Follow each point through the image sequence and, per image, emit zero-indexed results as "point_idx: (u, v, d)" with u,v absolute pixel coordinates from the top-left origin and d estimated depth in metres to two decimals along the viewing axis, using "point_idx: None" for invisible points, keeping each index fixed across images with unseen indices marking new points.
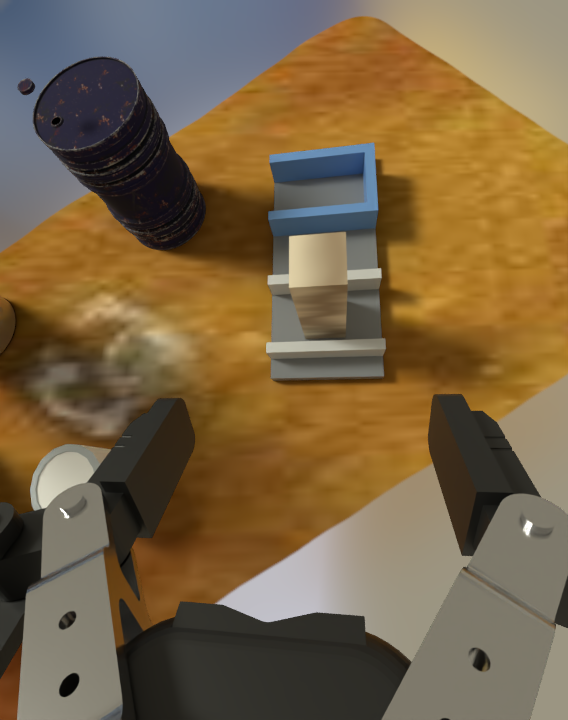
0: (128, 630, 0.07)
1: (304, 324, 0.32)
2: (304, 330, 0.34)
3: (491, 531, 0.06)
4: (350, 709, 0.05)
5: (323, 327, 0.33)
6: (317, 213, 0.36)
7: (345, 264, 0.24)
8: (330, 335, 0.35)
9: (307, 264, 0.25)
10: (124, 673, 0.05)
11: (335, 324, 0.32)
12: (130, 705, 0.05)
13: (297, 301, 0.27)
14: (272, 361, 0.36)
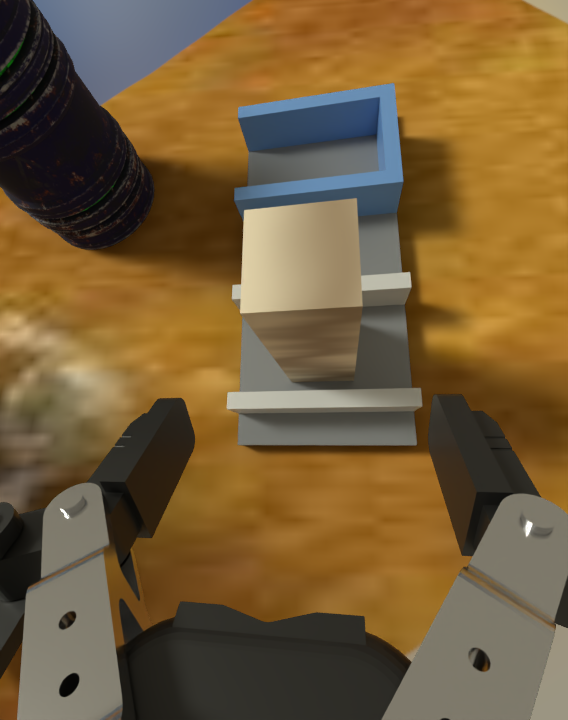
0: (128, 630, 0.07)
1: (285, 366, 0.19)
2: (287, 373, 0.21)
3: (491, 531, 0.06)
4: (350, 709, 0.05)
5: (318, 370, 0.20)
6: (307, 189, 0.23)
7: (357, 264, 0.12)
8: (330, 379, 0.22)
9: (278, 265, 0.12)
10: (124, 673, 0.05)
11: (338, 366, 0.19)
12: (130, 705, 0.05)
13: (265, 336, 0.14)
14: (240, 417, 0.23)
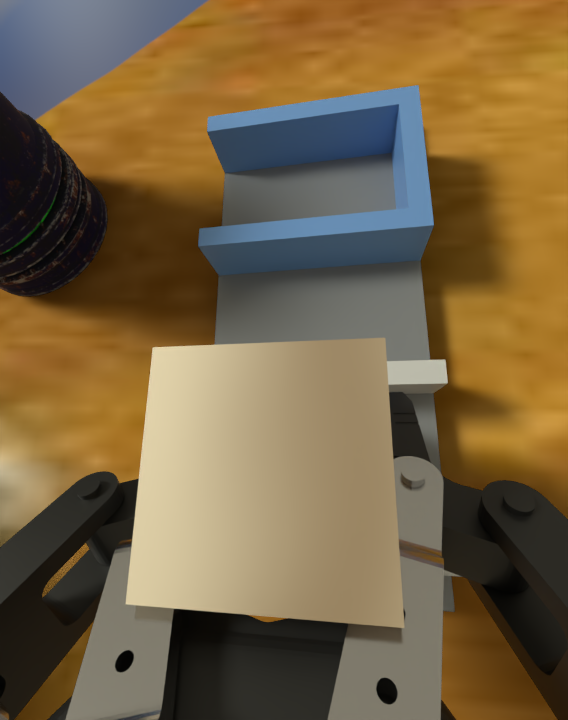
0: None
1: None
2: None
3: None
4: None
5: None
6: (299, 233, 0.17)
7: (389, 507, 0.05)
8: None
9: (215, 488, 0.06)
10: (171, 672, 0.05)
11: None
12: (169, 710, 0.05)
13: None
14: None
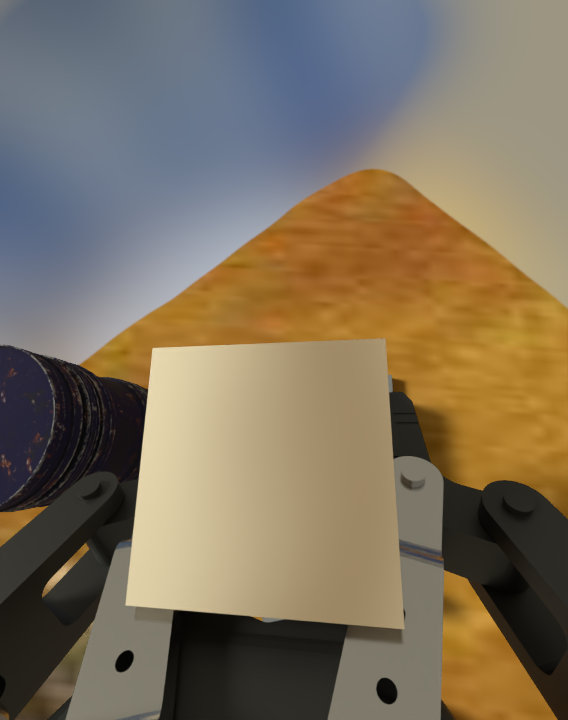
0: None
1: None
2: None
3: None
4: None
5: None
6: None
7: (389, 508, 0.05)
8: None
9: (214, 489, 0.06)
10: (171, 672, 0.05)
11: None
12: (169, 710, 0.05)
13: None
14: None
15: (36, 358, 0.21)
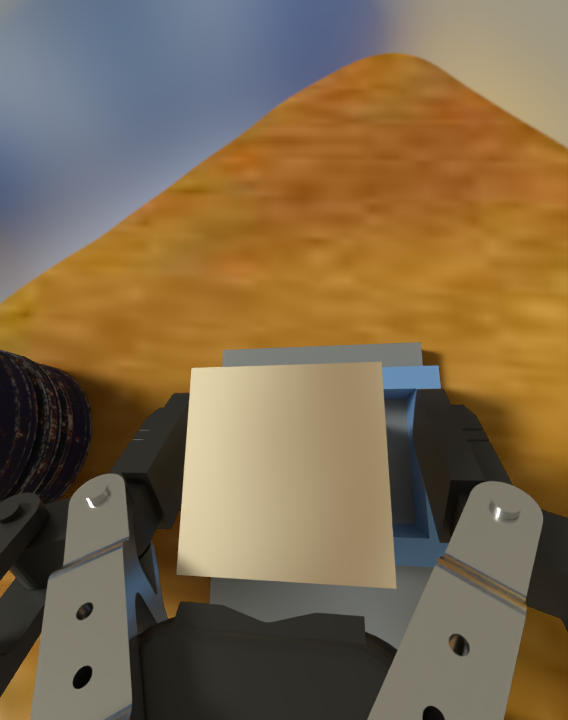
0: (143, 623, 0.07)
1: None
2: None
3: (461, 516, 0.07)
4: (350, 709, 0.05)
5: None
6: None
7: (384, 497, 0.06)
8: None
9: (246, 482, 0.07)
10: (134, 671, 0.05)
11: None
12: (139, 704, 0.05)
13: None
14: None
15: None
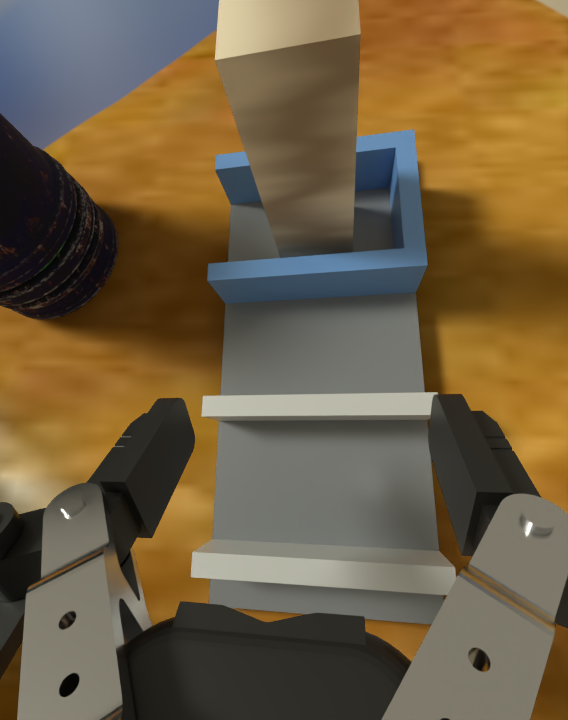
0: (128, 630, 0.07)
1: (275, 224, 0.17)
2: (279, 245, 0.19)
3: (491, 531, 0.06)
4: (350, 709, 0.05)
5: (312, 235, 0.18)
6: (302, 270, 0.18)
7: None
8: None
9: (261, 8, 0.10)
10: (123, 674, 0.05)
11: (334, 225, 0.17)
12: (130, 705, 0.05)
13: (248, 134, 0.12)
14: None
15: None
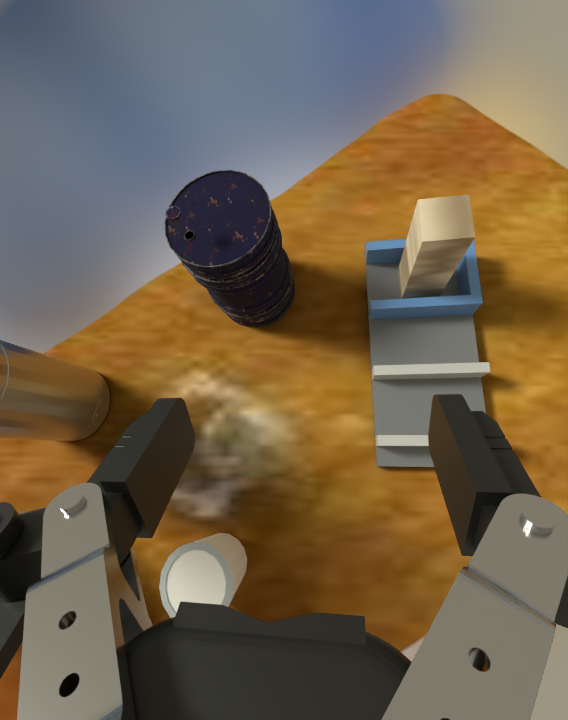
0: (128, 630, 0.07)
1: (410, 283, 0.36)
2: (405, 291, 0.38)
3: (491, 531, 0.06)
4: (350, 709, 0.05)
5: (424, 287, 0.37)
6: (420, 304, 0.37)
7: (471, 221, 0.29)
8: None
9: (437, 222, 0.29)
10: (123, 674, 0.05)
11: (437, 284, 0.36)
12: (130, 705, 0.05)
13: (420, 257, 0.31)
14: (377, 448, 0.37)
15: (250, 176, 0.32)
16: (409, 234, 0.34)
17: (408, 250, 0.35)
